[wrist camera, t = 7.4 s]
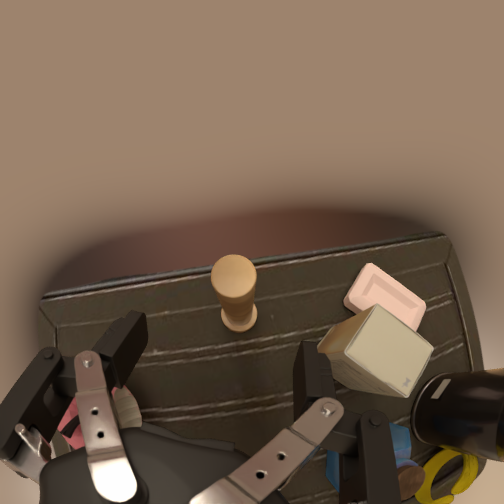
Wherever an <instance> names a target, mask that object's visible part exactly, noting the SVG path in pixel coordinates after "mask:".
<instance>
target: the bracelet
mask: <svg viewBox="0 0 504 504" xmlns="http://www.w3.org/2000/svg"><path fill="white" fill-rule="evenodd" d="M460 454H462V456H463V460H464V466H463V471H462V473H461V475H460V477H459V479H458V480H457V482H456V483H455V484H454V486H453V487H452V489H451V493H452V494H454V495H455V494H459V493H462V492H464V491H465V490H467V489H468V488H469V486H470V485H471V484H472V483H473V481H474V479H475V477H476V475H477V472H478V460H477V458H476V456H472V455H467V454H463V453H460V452H456V451H452V450H448V449H443V450H441V451H440V452H438V453H437V454H435V455H434V456H433V457H432V458H431V459H430V460H429V461H428V462H427V463H426V464H425V465H424V467H423V469H424V470H425V480H424V483H423V485H422V486H421V488H420V489H419V490H418V491H417V492H416V493H415V497H416V499H417V500H418V501H419V502H420V503H423V504H450V503H451V502H452V501H453V500H454V496H453V495H447V496H444V497H442V498H439V499H437V500H434V501H433V500H432V498H431V495H430V488H431V484H432V481H433V479H434V477H435V475H436V473H437V472H438V470H439V469H440V468H441V467H442V466H443V465H444V464H445V463H446V462H447V461H448V460H450V459H451V458H453V457H455V456H457V455H460Z"/></svg>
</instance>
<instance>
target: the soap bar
mask: <svg viewBox="0 0 504 504" xmlns="http://www.w3.org/2000/svg"><path fill="white" fill-rule="evenodd" d="M343 301H344V306H346V307H347V308H348V309H350V310H351V311H353V312H354V313H356V314H359V313H360V312H362V311H364V310H366V309H368V308H369V307H371V306H373V305H375V304H376V303H378V304H379V305H381V306H382V307H383V308H385V309H386V310H388V311H389V312H390V313H392V314H393V315H395V316H396V317H397V318H399V319H400V320H401V321H403V322H404V323H405V324H407V325H408V326H409V327H410V328H412V329H413V330H414V331H416V330H417V328H418V326H419V324H420V321H421V319H422V317H423V314H424V312H425V309H426V304H425V302H424V301H423V300H421V299H420V298H419V297H417V296H416V295H415V294H414V293H412V292H411V291H410V290H408V289H407V288H406V287H404V286H403V285H401V284H400V283H399V282H397V281H396V280H395V279H393V278H392V277H391V276H389V275H388V274H386V273H385V272H384V271H382V270H381V269H379V268H378V267H377V266H375V265H374V264H372V263H369V264H366V265H365V266H364V267H363V268H362V269H361V271H360V273H359V275H358V276H357V278H356V280H355V281H354V283H353V285H352V287H351V288H350V290H349V292H348V293H347V295H346V296H345V298H344V300H343Z"/></svg>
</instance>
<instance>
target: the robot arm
mask: <svg viewBox="0 0 504 504" xmlns="http://www.w3.org/2000/svg"><path fill="white" fill-rule="evenodd" d="M147 343H148V330H147V321H146V315H145V313H141V312H137V311H133V310H131V311H130V312H129V313H128V314H127V316H126V317H125V318H122V317H121V318H119V319H117V320H116V321H114V322H113V323H112V324H111V326H110V327H109V329H107V331H106V332H105V334H103V336H102V337H101V338H100V339H99V341H98V342H97V343H96V345H95V346H94V347H93V348H92V350H91V351H83V352H81V353H79V354H78V355H77V356H76V357H66V356H62V355H61V353H60V351H59V350H58V349H57V348H55V347H46V348H44V349H42V350H41V351H40V352H39V353H38V354H37V356H36V357H35V358H34V359H33V361H32V362H31V363H30V365H29V366H28V367H27V368H26V370H25V371H24V372H23V374H22V375H21V376H20V378H19V379H18V380H17V382H16V383H15V384H14V386H13V387H12V389H11V390H10V392H9V393H8V394H7V396H6V397H5V399H4V400H3V401H2V403H1V404H0V460H1V461H2V462H3V463H4V464H5V465H7V466H8V467H9V468H10V469H12V470H13V471H15V472H16V473H17V474H18V475H20V476H21V477H23V478H30V479H31V480H33V481H35V482H36V483H38V484H39V486H40V501H39V504H289V502H288V501H287V500H286V499H285V498H284V497H283V495H282V494H281V493H280V491H281V490H282V489H283V488H284V487H285V486H286V485H287V484H288V483H289V482H290V481H291V480H292V479H293V478H294V477H295V476H296V475H297V474H298V472H299V471H300V470H301V469H302V468H303V467H304V466H305V465H306V464H307V463H308V462H309V461H310V459H311V458H312V457H313V456H314V455H315V454H316V453H317V452H318V450H319V449H320V448H323V449H327V450H330V451H334V452H337V453H339V504H401V495H400V486H399V479H398V471H397V465H396V458H395V452H394V447H393V441H392V436H391V431H390V426H389V421H388V418H387V417H386V416H385V415H384V414H383V413H382V412H380V411H377V410H368V411H366V412H364V413H363V414H362V415H360V414H356V413H353V412H349V411H347V410H345V409H344V408H343V406H342V404H341V403H340V402H339V401H337V398H336V392H335V386H334V380H333V376H332V375H333V374H332V370H331V363H330V360H329V358H328V357H327V355H326V354H325V353H318V350H317V343H316V342H309V341H301V343H300V346H299V349H298V352H297V356H296V359H295V362H294V367H293V402H294V424H293V425H292V426H291V427H286V428H284V429H283V430H282V431H281V432H280V433H279V434H278V435H277V436H275V437H274V438H273V439H272V440H271V441H270V442H269V443H268V444H266V445H265V446H264V447H263V448H262V449H261V450H259V451H258V452H257V453H256V454H255V455H254V456H252V457H250V456H249V455H247V454H245V453H244V452H242V451H240V450H237V449H235V448H234V446H235V443H234V442H228V441H222V440H216V439H188V438H184V437H182V436H180V435H178V434H176V433H174V432H172V431H170V430H168V429H166V428H164V427H160V426H157V425H153V424H150V423H147V422H144V421H143V423H142V425H141V427H127V428H123V426H122V424H121V421H120V418H119V415H118V412H117V408H116V405H115V401H114V398H113V394H112V390H113V388H114V387H116V388H119V389H122V388H123V386H124V384H125V383H126V381H127V379H128V377H129V375H130V374H131V372H132V370H133V368H134V367H135V365H136V363H137V361H138V360H139V358H140V356H141V355H142V353H143V351H144V349H145V348H146V346H147ZM49 386H50V387H49ZM48 388H49V389H48ZM47 389H48V390H47ZM46 391H47V392H46ZM44 394H45V395H44ZM74 397H76V403H77V409H78V415H79V420H80V425H81V430H82V435H83V439H84V443H85V446H83V447H80V448H78V449H76V450H73V451H71V452H69V453H66V454H64V455H61V456H59V457H56V458H54V459H52V460H51V447H50V445H49V443H50V441H51V439H52V437H53V435H54V434H55V432H56V430H57V428H58V426H59V424H60V422H61V420H62V418H63V417H64V415H65V413H66V411H67V409H68V407H69V406H70V404H71V402H72V400H73V399H74ZM411 427H412V431H413V433H414V435H415V437H416V438H417V439H418V440H419V441H421V442H423V443H426V444H432V445H435V446H439V447H442V448H445V449H448V450H452V451H456V452H460V453H463V454H467V455H472V456H476V457H480V458H485V459H490V460H496V461H500V462H504V368H499V369H492V370H483V371H474V372H461V373H441V374H438V375H436V376H434V377H432V378H431V379H430V380H429V381H428V382H427V383H426V384H425V385H424V386H423V387H422V389H421V390H420V392H419V393H418V395H417V397H416V399H415V402H414V405H413V408H412V413H411Z"/></svg>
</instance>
